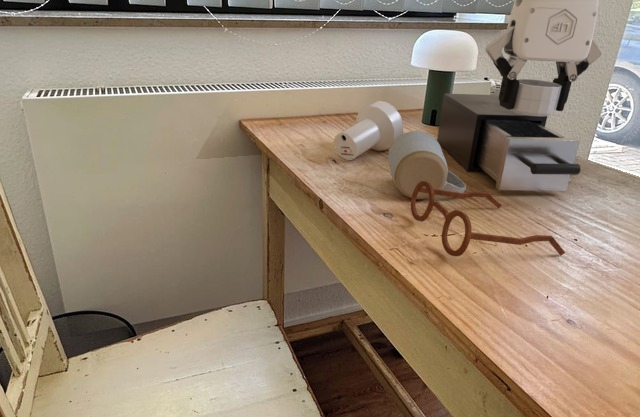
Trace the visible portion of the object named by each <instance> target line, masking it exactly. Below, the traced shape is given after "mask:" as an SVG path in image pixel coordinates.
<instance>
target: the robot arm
mask: <svg viewBox="0 0 640 417" xmlns="http://www.w3.org/2000/svg"><path fill="white" fill-rule="evenodd" d="M599 3H600V0H514V2H513V6H512V8H511V11H510V15H509V19H508V24H507V26H506V30H505V31H503V32H502V33H501V34H500V35H498V36H497V37H496V38H495V39H493V40H492V41H491V42H490V43H489V44H487V45H486V47H485V52H486V54H487V55H488V57H489V59H490V60H491V61H492V63H493V65H494V66H495V68H496V69H497V71H498V72H499V75H500V76H501V77H502V79H501V84H500V87H499V94H498V95H499V101H500V106H502V107H504V108H506V109H508V110H512V109H514V106H515V101H516V97H517V92H518V88H519V80H517V79H518V76H519V74H520V72H521V71H522V70H523V68H524V66H525V65H526V63H527V61H535V62H553V63H554V62H555V65H556V66H555V67H556V71H557V77H554V78H553V80H552V82H554V83H557V84H560V85H561V86H562V87H561V91H560V95H559V99H558V103H557V107H556V111H557V112H563V111H564V109H565V105H566V104H567V101H568V98H569V95H570V91H571V86H572V83H575V82H576V81H577V80H578V77H579V76H580V75H582V74H583V73H584V72H585V71H586V70H588V68H589V66H591V65H592V64H593V63H594V62H596V61H597V60H598V59H599V58H600V57H601V55H602V51H601V50H600V48H599V47H598V45H597V44H596V42H595V41H594V35H595V28H596V24H597V17H598V11H599ZM502 50H503V52H504V53H505V54H506V55H508V57H507V58H505V57H504V54H503V53H502Z"/></svg>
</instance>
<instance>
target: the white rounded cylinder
mask: <svg viewBox="0 0 640 417" xmlns="http://www.w3.org/2000/svg"><path fill="white" fill-rule="evenodd" d="M517 80H519V88H518V92H517V97H516V101H515V106H514V109H512V110H510V111H512V112H515V113H518V114H523V115H529V116H547V117H549V116H551V115H552V114H555V113H556V111H557V110H556V107H557V103H558V99H559V95H560V91H561V87H562V86H561V85H560V84H557V83H554V82H553V81H549V80H541V79H535V78H534V79H532V78H517Z"/></svg>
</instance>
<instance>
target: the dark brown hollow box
mask: <svg viewBox="0 0 640 417" xmlns="http://www.w3.org/2000/svg"><path fill="white" fill-rule="evenodd" d="M482 120H519V121H535V122H537V123H539V124H541V125H542V126H544V127H546V124H547V121H548V116H529V115H523V114H518V113H515V112H512V111H510V110H508V109H506V108H504V107H502V106H500V101H499V94H473V93H472V94H471V93H443V98H442V103H441V110H440V117H439V123H438V124H439V125H438V130H437V138H436V140H437V141H438V143H439V144H440V147H441V149H442V150H444V151H445V152H446V153H447V154H448V155H449V156H450V157H451V158H452V159H453V160H454V161H455V162H457V163H458V164H459V165H460V166H461V168H463V169H464V170H465V171H466V172H469V173H470V172H476V173H477V172H479V173H480V172H481V173H482V172H483V173H486V172H485V171H484V170H483V169H482V168H480V167H479V166H478V165H477V164H476V163H475V162H474V159H475V153H476V148H477V142H478V137H479V131H480V126H481V121H482Z"/></svg>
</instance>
